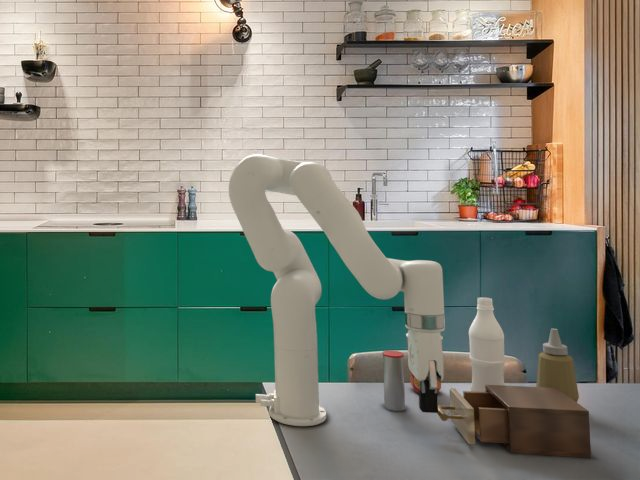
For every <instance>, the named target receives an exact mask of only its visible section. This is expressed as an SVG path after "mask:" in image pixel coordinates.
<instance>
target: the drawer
mask: <svg viewBox="0 0 640 480" xmlns="http://www.w3.org/2000/svg"><path fill="white" fill-rule="evenodd" d="M462 392H463V395H462V394H461V393H460V392H459V391H458V390H457V388H453V387H452V388H449V405H442V404H441V405H440V404H439V403H438V412H437V413H436V414H437V416H438V417H439V418H440V420H441V421H444V422H446V421H448V420H450V421H451V423H452V424H453V425H454V427H455V428H456V430H457V431H458V433H460V435H461V436H462V437H463V439H464V440H465V441H466V442H467V444H468V445H476V437H477V438H478V440H479V441H480V442H481V443H495V444H503V443H509V427H508V409H507V408H506V407H505V406H504V405H502V404H501V403H500V402H499V401H498V400H497V399H496V398H495V397H494V396H493V395H492V394H491V393H490V392H475V391H471V390H463V391H462ZM445 410H447V411H450V414H447V413H446V412H445Z"/></svg>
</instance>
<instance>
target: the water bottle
mask: <svg viewBox="0 0 640 480" xmlns="http://www.w3.org/2000/svg"><path fill="white" fill-rule="evenodd" d="M476 310H477V312H476V315H475V317H474V319H473V321H472V322H471V324H470V326H469V329H468V337H469V338H468V339H469V340H468V341H469V360H470V364H471V384H470V391H475V392H485V385H503V386H506V385H505V376H504V373H505V363H506V358H505V355H506V354H505V334H504V331H503V328H502V327H501V325H500V323H499V322H498V320H497V319H496V317H495V313H494V310H495V308H494V305H493V299H492V297H491V298H490V297H481V296H480V297H477V304H476Z"/></svg>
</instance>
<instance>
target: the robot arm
mask: <svg viewBox="0 0 640 480" xmlns="http://www.w3.org/2000/svg"><path fill="white" fill-rule="evenodd" d="M229 177H230V178H229V181H228V196H229V201H230V204H231V207H232V209H233V211H234V214H235V216H236V219H237V221H238V222H239V225H240V227H241V229H242V232H243V234H244V236H245V238H246V240H247V242H248V244H249V246H250V249H251V251H252V253H253V255H254V258H255V260H256V262H257V263H258V265H259V266H260V267H261V268H262V269H264V270H265V271H267V272H272V273H273V275H274V277H275V279H276V282H275V284H274V285H273V287H272V290H271V293H270V307H271V315H272V316H271V317H272V325H273V347H274V348H273V349H274V350H273V351H274V353H273V354H274V387H275V389H274V390H273V392H272V393H271V392H270V393H269V394H263V393H255V403H256V404H260V407H269V408H268V413H269V414H268V415H269V417H270V418H271V419H273V420H274V421H275V422H278V423H280V424H283V425H288V426H292V427H293V426H294V427H311V426H317V425H320V424H322V423H324V422H325V421H327V410H326V409H325V408H324V407H323V406H321V405H320V396H319V395H320V392H319V356H318V353H319V352H318V333H317V332H318V331H317V320H316V305H317V303H318V302H319V300H320V299H321V296H322V291H323V290H322V283H321V280H320V277H319V276H318V273H317V271H316V269H315V268H314V266H313V263H312V262H311V259H310V257H309V255H308V253H307V251H306V249H305V247H304V245H303V244H302V242H301V240H300V238H299V237H298V236H297V234H295V233H294V232H293V231H292V230H290V229H288V228H284V227H283V226H282V224H281V222H280V220H279V218H278V217H277V213H276V211H275V210H274V208H273V206H272V204H271V203H270V201H269V199H268V197H267V194H266V191H267V192H273V193H278V194H279V193H280V194H285V195H290V196H295V197H296V198H297V199H298V200H299V201H300V203H301V204H302V205H303V207H304V208H305V209H306V210H307V212H308V213H309V215H310V216H311V217H312V218H313V219H314V221H315V222H316V224H317V225H318V226H319V227H320V229H321V230H322V231H323V233H324V234H325V235H326V237H327V239H328V241H329V242H330V245H332V247H333V248H334V249H335V251H336V253H337V254H338V256H339V257H340V259H341V260H342V261H343V263H344V265H345V266H346V268H347V269H348V270H349V271H350V273H351V274H352V275H353V277H354V278H355V279H356V280H357V282H358V283H359V285H360V286H361V287H362V288H363V289H364V291H365V292H366V293H368V294H369V295H370V296H371V297H372V298H373V297H374V298H375V299H378V300H390V299H392V298H394V297H396V296H397V295H398V294H399V292H403V303H404V305H403V306H404V324H405V325H404V327H405V328H406V329H407V330H408V331H407V333H408V348H407V366H408V369H409V372H410V371H411V372H412V374H413V375H414V376H415V378H416V379H417V380H418V384H419V389H421V390H419V393H418V405H419V406H418V407H419V410H420V412H421V413H427V414H429V413H430V414H437V412H438V404H439V403H438V402H439V401H438V394H437V389H438V387H437V380H438V381H439V382H441V383H442V382H443V380H444V378H445V377H444V376H445V375H444V374H445V373H444V372H445V365H444V354H443V353H444V352H443V340H442V341H441V336H442V334H441V332H444V331H446V319H445V316H446V315H445V300H444V299H445V298H444V297H445V296H444V275H443V274H444V273H443V267H442V265H441V264H440V263H439V262H437V261H433V260H427V259H426V260H425V259H414V260H403V259H397V258H396V259H395V258H389V257H386V256H385V254H384V253H383V252H382V251H381V249H380V248H379V247H378V245H377V244H376V243H375V241H374V240H373V238H372V237H371V235H370V233H369V231H368V230H367V228H366V226H365V224H364V221H363V219H362V216H361V215H360V213H359V211H358V210H357V209H356V207H355V206H354V204H352V203H351V201H350V200H349V199H348V197H346V194H344V193H343V192H342V190H341V189H340V187H339V186H338V185H337V184H336V183H335V181H334V180H333V179H332V178H333V176H332V174H331V172H330V170H329V169H328V168H327V167H326V166H324V165H323V164H321V163H319V162H314V161H299V160H293V159H287V158H280V157H275V156H270V155H265V154H260V153H254V154H250V155H247V156H246V157H244V158H242V159H241V160H240V161H239V162H238V163H237V164H236V166H235V167H234V168H233V170H232V173H231V175H230V176H229Z"/></svg>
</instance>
